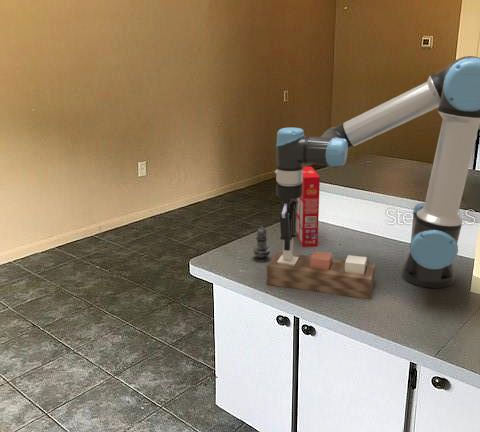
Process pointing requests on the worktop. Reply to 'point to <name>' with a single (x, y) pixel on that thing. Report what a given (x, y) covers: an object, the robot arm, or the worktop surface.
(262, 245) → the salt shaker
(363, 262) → the near button
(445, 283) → the robot arm
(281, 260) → the far button
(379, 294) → the worktop surface
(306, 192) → the food packaging
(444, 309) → the worktop surface
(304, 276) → the mount
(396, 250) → the worktop surface
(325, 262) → the middle button
